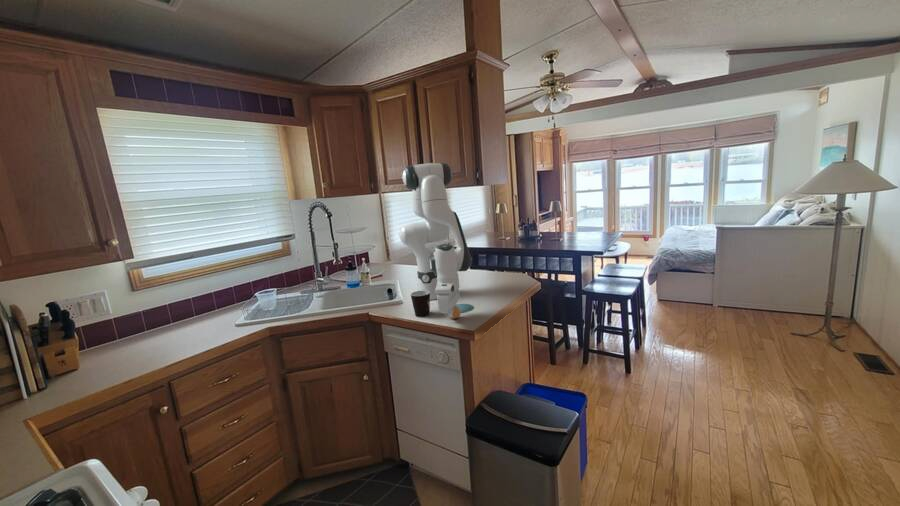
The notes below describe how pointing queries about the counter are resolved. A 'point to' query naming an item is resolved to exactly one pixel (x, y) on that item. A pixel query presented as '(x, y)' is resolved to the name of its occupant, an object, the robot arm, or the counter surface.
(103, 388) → the counter surface
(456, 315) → the ball
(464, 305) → the disc
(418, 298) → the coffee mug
